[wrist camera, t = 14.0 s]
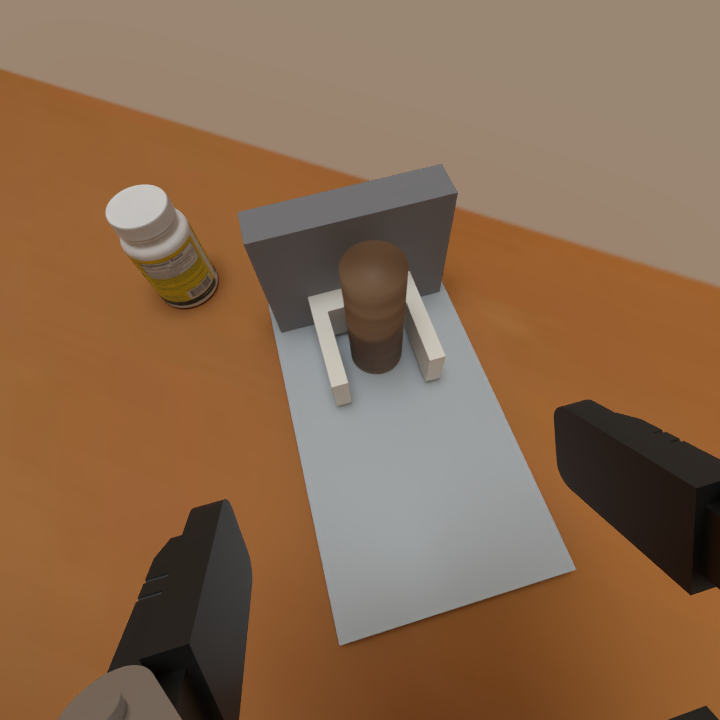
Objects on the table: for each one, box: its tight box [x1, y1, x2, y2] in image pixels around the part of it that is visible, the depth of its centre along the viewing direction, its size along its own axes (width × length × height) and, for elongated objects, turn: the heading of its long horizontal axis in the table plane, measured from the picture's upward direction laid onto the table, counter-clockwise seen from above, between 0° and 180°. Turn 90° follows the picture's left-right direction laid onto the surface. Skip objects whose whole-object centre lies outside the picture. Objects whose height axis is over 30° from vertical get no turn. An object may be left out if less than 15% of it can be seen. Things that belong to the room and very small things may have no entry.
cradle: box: [308, 271, 446, 406], centre depth 27 cm, size 7×7×3 cm
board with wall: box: [238, 164, 576, 646], centre depth 23 cm, size 22×13×10 cm, turn 15°
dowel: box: [339, 240, 409, 374], centre depth 25 cm, size 4×4×9 cm
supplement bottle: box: [106, 185, 218, 308], centre depth 31 cm, size 5×5×8 cm
